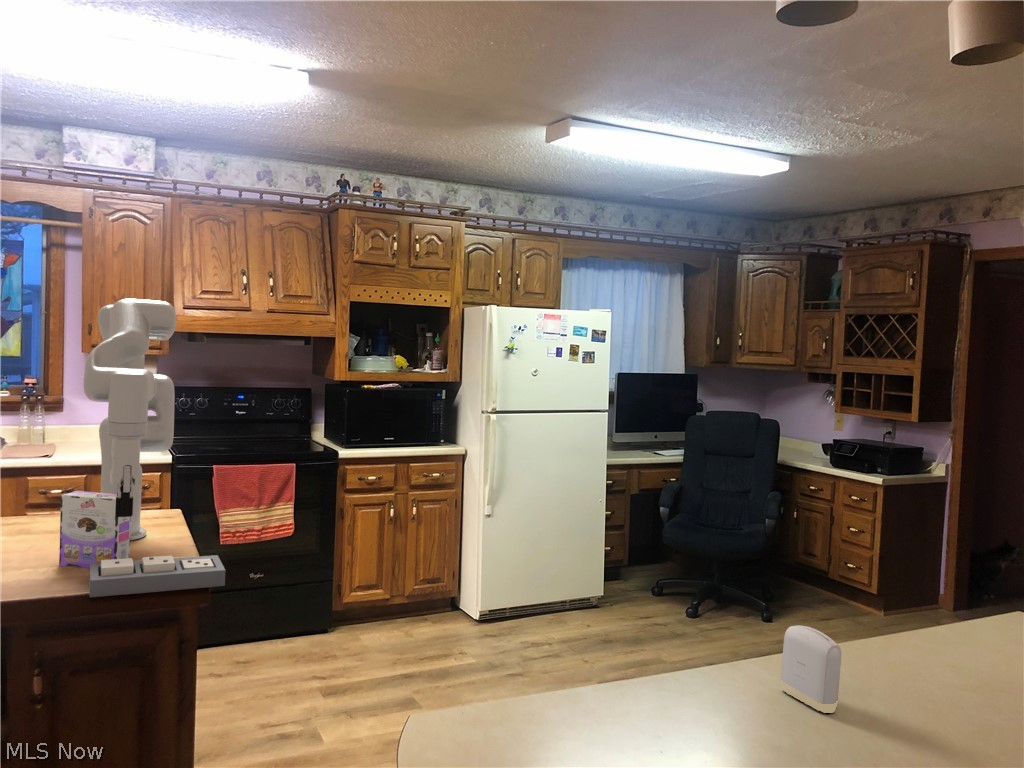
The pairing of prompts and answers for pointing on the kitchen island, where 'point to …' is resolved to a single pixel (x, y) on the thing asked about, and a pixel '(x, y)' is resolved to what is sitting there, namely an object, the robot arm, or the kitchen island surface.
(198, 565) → the tile
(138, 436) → the robot arm
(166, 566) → the tile
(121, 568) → the tile
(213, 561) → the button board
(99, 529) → the candy box
